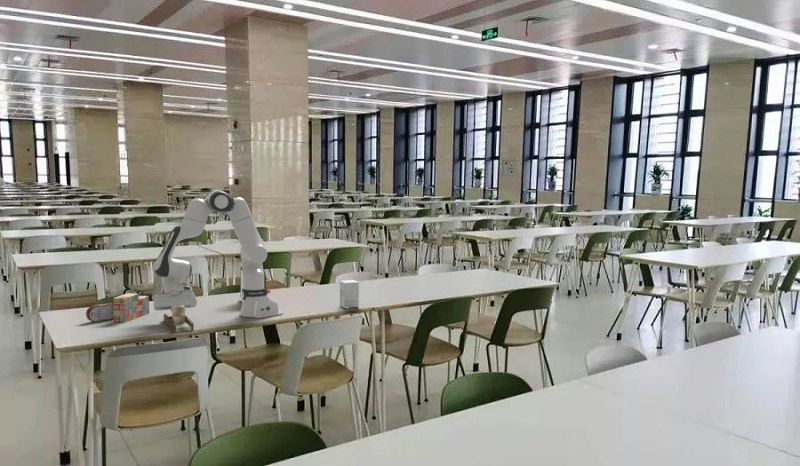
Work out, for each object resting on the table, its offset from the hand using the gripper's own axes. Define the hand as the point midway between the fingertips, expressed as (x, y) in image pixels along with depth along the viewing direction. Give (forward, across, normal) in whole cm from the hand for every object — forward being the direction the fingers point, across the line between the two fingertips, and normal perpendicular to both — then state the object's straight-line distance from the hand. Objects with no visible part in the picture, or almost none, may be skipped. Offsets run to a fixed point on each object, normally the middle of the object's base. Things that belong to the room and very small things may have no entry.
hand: (177, 315), depth 295 cm
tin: (-14, -31, +21) cm, 40 cm away
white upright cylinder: (-23, +50, +31) cm, 63 cm away
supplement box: (+2, +95, +5) cm, 95 cm away
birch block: (+4, 0, 0) cm, 4 cm away
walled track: (+4, 0, +3) cm, 5 cm away
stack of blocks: (-15, -17, +22) cm, 32 cm away
